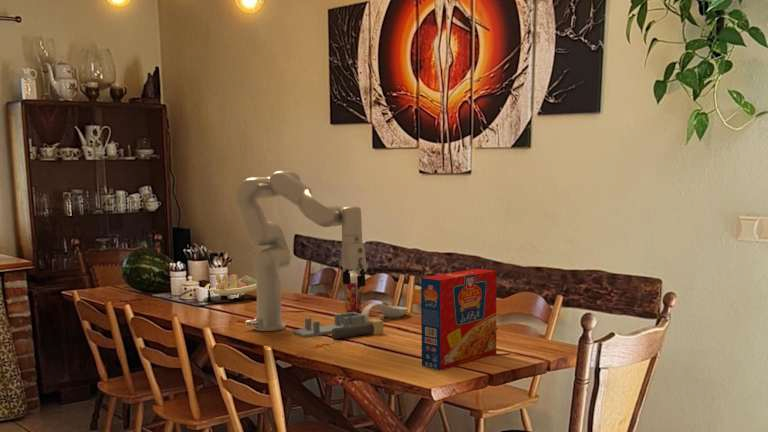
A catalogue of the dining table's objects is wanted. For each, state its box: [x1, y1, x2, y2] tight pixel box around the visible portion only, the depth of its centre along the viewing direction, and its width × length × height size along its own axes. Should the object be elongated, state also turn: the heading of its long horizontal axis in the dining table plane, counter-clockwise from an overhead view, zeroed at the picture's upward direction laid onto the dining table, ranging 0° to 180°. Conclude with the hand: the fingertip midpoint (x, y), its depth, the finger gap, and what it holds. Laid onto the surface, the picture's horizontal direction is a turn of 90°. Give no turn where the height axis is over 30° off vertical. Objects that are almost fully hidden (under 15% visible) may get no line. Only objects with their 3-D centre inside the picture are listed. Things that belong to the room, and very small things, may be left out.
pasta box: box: [420, 268, 497, 371], centre depth 221 cm, size 28×8×28 cm, turn 134°
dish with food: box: [203, 273, 256, 297], centre depth 336 cm, size 28×28×14 cm
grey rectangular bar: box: [331, 318, 384, 340], centre depth 256 cm, size 20×5×5 cm, turn 123°
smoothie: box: [343, 270, 363, 313], centre depth 301 cm, size 8×8×20 cm
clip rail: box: [293, 312, 367, 338], centre depth 265 cm, size 27×9×5 cm, turn 123°
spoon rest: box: [360, 302, 409, 324], centre depth 287 cm, size 24×12×7 cm, turn 135°
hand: (354, 285), depth 255 cm, fingers open, 9 cm apart
